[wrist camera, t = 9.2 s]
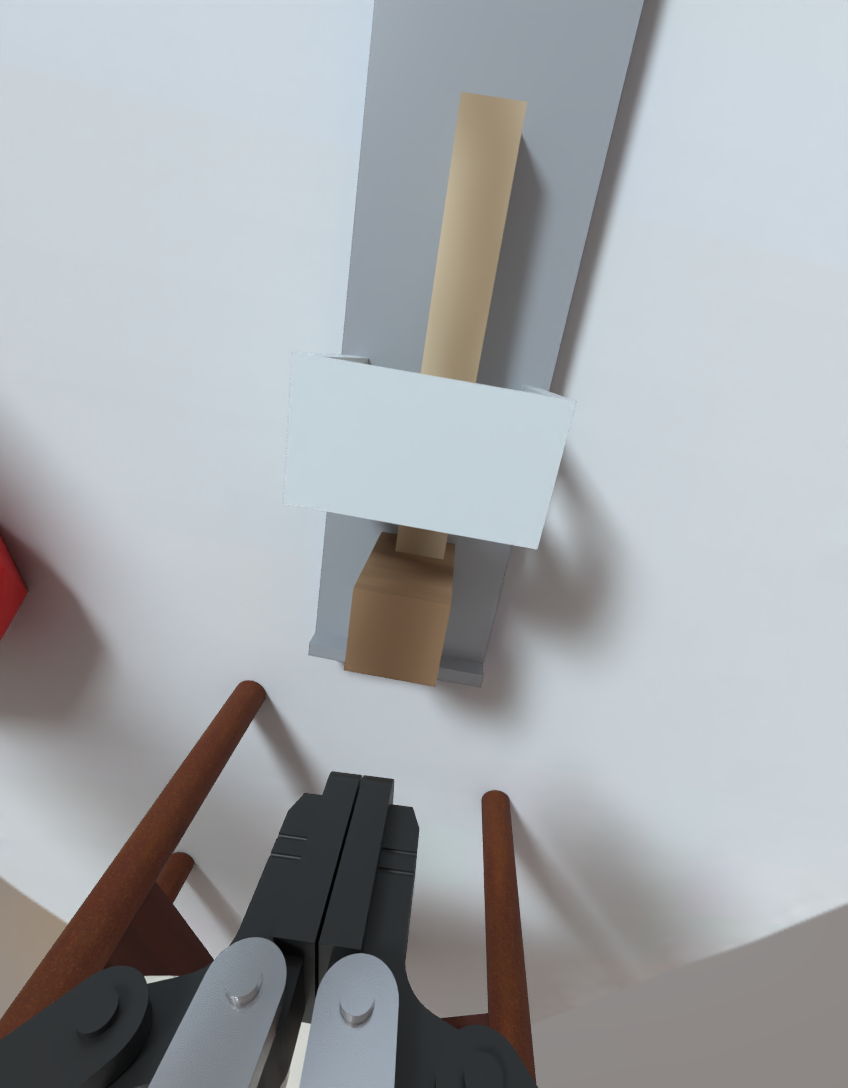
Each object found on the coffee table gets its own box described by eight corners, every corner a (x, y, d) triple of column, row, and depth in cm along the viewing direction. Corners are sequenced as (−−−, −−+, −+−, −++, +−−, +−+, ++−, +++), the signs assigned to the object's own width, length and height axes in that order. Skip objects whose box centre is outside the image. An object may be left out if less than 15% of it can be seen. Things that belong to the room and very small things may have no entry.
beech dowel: (401, 535, 26) (395, 551, 24) (461, 122, 20) (461, 91, 18) (445, 542, 26) (443, 559, 24) (520, 131, 20) (527, 101, 17)
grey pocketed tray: (321, 633, 31) (256, 753, 21) (427, -444, 16) (369, -1589, 7) (478, 662, 30) (484, 796, 21) (733, -402, 16) (1124, -1522, 6)
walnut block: (373, 597, 28) (343, 670, 21) (381, 531, 26) (353, 587, 20) (442, 609, 28) (435, 686, 21) (455, 544, 26) (451, 605, 20)
